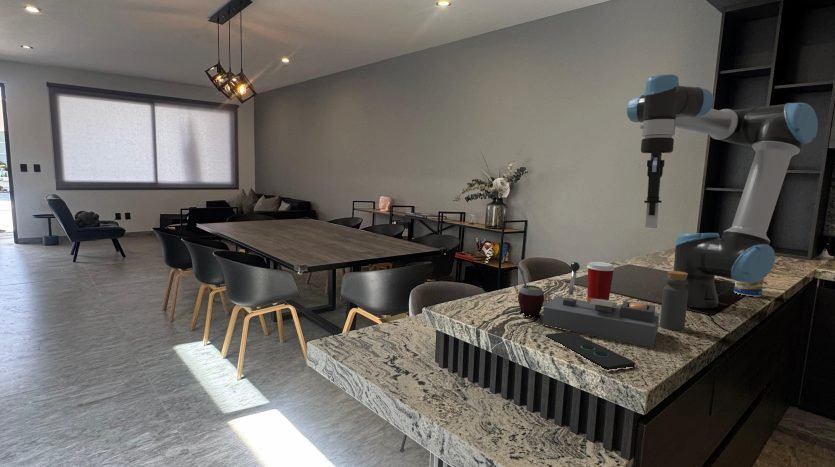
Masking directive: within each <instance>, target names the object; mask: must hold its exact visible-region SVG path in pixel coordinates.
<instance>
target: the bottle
mask: <svg viewBox="0 0 835 467" xmlns="http://www.w3.org/2000/svg"><path fill="white" fill-rule="evenodd" d="M687 275H688V273H685V272H680V271H674V270H668V271H667V277H666V278H665V282H666V283H667V285H665V286H664V287H663V290H662V298H661V299H662V300H661V309H660V315H659V326H660V327H661V328H664V329H667V330H671V331H684V330H685V324H686V317H687V308H688V306H687V300H688V290H687V289H686V288H685V285H686V284H688V280H686V278H687Z"/></svg>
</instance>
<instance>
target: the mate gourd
mask: <svg viewBox="0 0 835 467" xmlns="http://www.w3.org/2000/svg"><path fill="white" fill-rule="evenodd" d="M512 263H513V264H514V265H515V267H517V268H518V270H519V273H520V275H521V278H522V282H523V285H522V287H521V288H520V289H519V291H518V294H517V299H518V304H519V309H520V311H519V314H521V313H524V314H522V317H523V316H525V317H526V316H529V315H531V316H529V317H533V316H535V317H534V318H537V317H540V318H541V315H540V314H541V313H542V312H541V311H542V308H543V306H544V305H543V304H544V302H545V301H544V300H545V294H544V293H545V292H544V291H543V289H542V288H541V287H540V286H536V285H527V282H526V279H525V276H524V270H523V269H522V268H521V266H520V265H518V264H516V263H515V262H512ZM526 318H527V317H526Z"/></svg>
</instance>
